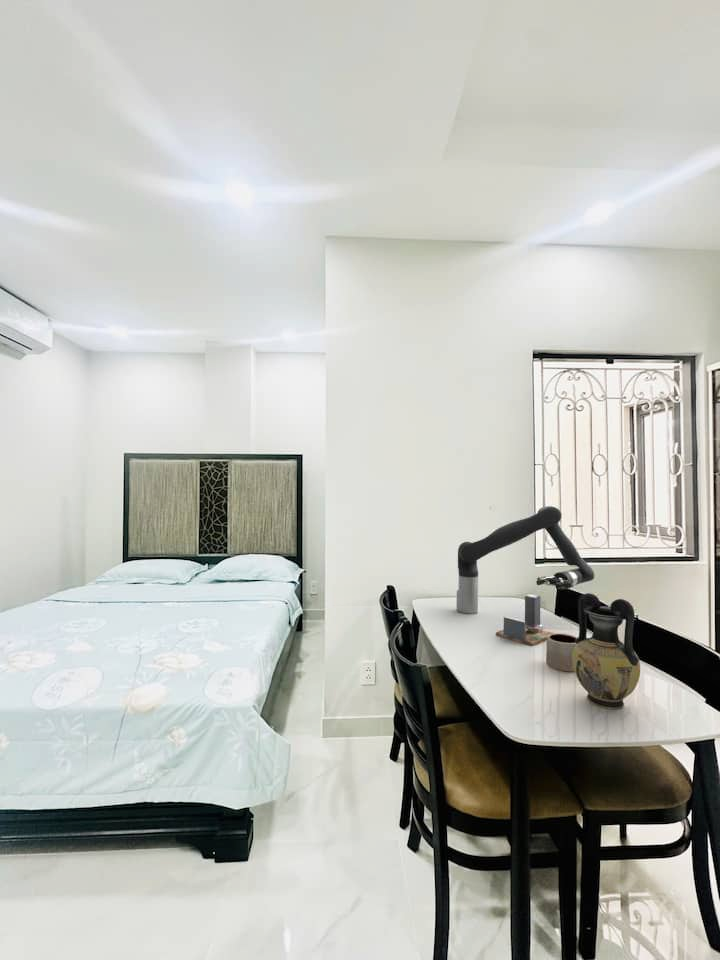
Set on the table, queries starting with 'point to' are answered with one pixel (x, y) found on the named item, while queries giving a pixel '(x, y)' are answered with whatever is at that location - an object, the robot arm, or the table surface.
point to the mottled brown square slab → (528, 637)
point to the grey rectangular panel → (515, 628)
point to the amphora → (606, 652)
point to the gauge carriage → (532, 613)
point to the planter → (560, 651)
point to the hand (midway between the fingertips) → (546, 584)
